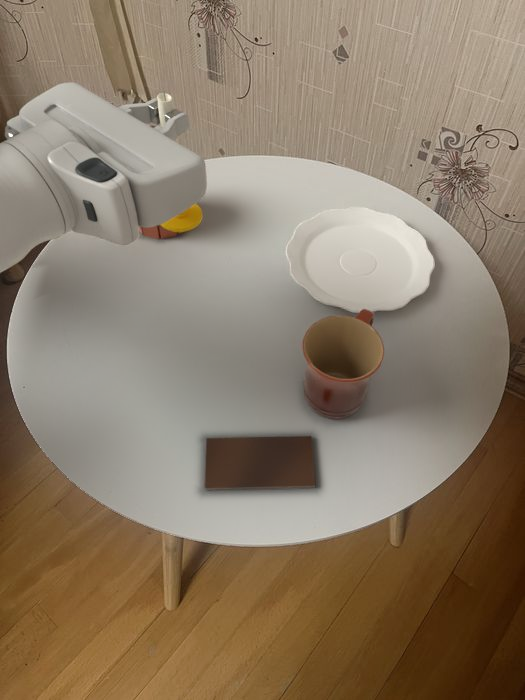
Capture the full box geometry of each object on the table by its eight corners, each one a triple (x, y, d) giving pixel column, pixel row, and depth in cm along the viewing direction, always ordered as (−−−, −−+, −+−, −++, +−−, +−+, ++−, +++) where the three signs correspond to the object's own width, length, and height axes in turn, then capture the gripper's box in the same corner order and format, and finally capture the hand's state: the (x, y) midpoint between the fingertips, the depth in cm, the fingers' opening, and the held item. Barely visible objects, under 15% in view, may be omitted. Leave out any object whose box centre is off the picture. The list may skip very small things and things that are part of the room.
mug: (349, 441, 65) (363, 394, 57) (283, 407, 68) (287, 357, 59) (391, 367, 71) (408, 315, 63) (329, 338, 74) (338, 285, 66)
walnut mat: (205, 490, 62) (204, 487, 61) (206, 441, 65) (206, 437, 64) (314, 488, 62) (315, 485, 61) (310, 438, 65) (311, 435, 65)
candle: (208, 207, 68) (197, 81, 56) (194, 235, 65) (180, 109, 52) (166, 199, 69) (147, 74, 56) (151, 228, 66) (128, 101, 53)
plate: (461, 272, 81) (464, 264, 80) (356, 344, 73) (358, 336, 72) (359, 197, 91) (360, 189, 89) (257, 254, 83) (257, 246, 81)
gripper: (6, 158, 57) (113, 103, 63) (139, 255, 49) (247, 181, 55) (-18, 99, 52) (101, 45, 58) (126, 196, 44) (246, 123, 50)
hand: (173, 112), depth 57 cm, fingers closed on candle
